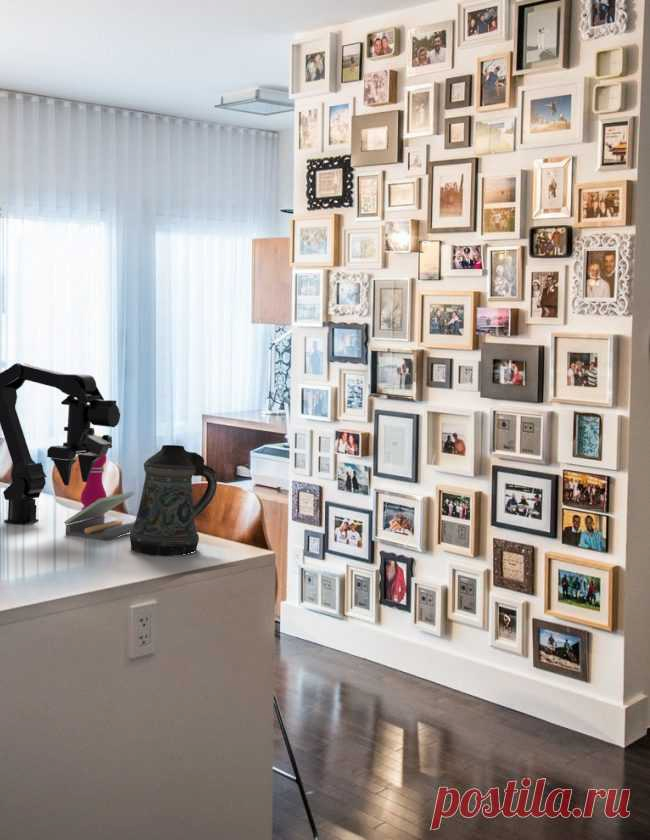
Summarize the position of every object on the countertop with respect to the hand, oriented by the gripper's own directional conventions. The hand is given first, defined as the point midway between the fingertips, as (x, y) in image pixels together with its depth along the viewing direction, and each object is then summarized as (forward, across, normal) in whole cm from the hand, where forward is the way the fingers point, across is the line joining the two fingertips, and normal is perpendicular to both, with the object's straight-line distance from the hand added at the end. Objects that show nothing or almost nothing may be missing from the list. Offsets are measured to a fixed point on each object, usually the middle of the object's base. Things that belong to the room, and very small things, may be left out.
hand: (75, 483), depth 261 cm
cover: (+6, 0, -8) cm, 10 cm away
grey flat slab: (+12, 0, -9) cm, 15 cm away
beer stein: (+12, -8, -32) cm, 35 cm away
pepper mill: (+12, +22, +8) cm, 26 cm away
